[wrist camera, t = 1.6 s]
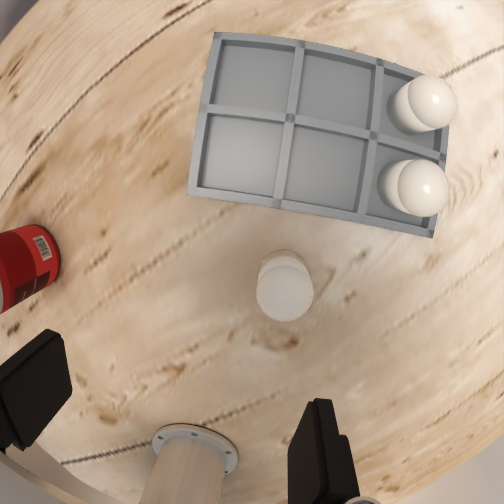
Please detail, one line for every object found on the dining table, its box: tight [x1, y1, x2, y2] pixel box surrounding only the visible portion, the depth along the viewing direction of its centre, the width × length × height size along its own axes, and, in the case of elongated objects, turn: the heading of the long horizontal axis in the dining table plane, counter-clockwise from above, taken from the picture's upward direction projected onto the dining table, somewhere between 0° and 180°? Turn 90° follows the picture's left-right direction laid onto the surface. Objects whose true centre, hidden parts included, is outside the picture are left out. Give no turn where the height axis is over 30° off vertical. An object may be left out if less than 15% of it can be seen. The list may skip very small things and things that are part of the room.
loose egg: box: [256, 250, 314, 322], centre depth 25 cm, size 5×5×7 cm
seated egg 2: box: [377, 159, 449, 217], centre depth 22 cm, size 5×5×7 cm
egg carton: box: [186, 32, 449, 238], centre depth 24 cm, size 16×23×2 cm
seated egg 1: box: [386, 75, 458, 135], centre depth 20 cm, size 5×5×7 cm
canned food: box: [0, 225, 60, 314], centre depth 25 cm, size 8×8×11 cm
